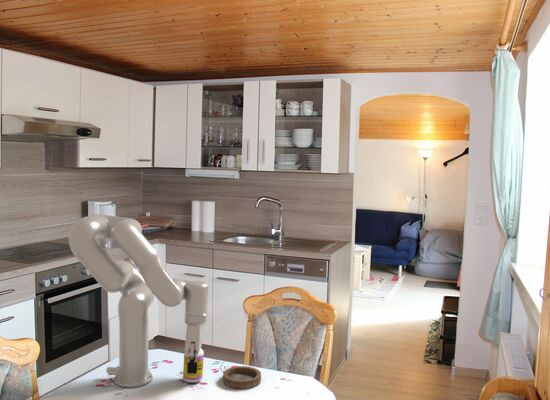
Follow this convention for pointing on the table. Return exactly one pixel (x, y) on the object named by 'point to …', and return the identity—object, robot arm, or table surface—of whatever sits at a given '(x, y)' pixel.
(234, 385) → the ring holder
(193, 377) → the supplement bottle
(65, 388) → the table surface
